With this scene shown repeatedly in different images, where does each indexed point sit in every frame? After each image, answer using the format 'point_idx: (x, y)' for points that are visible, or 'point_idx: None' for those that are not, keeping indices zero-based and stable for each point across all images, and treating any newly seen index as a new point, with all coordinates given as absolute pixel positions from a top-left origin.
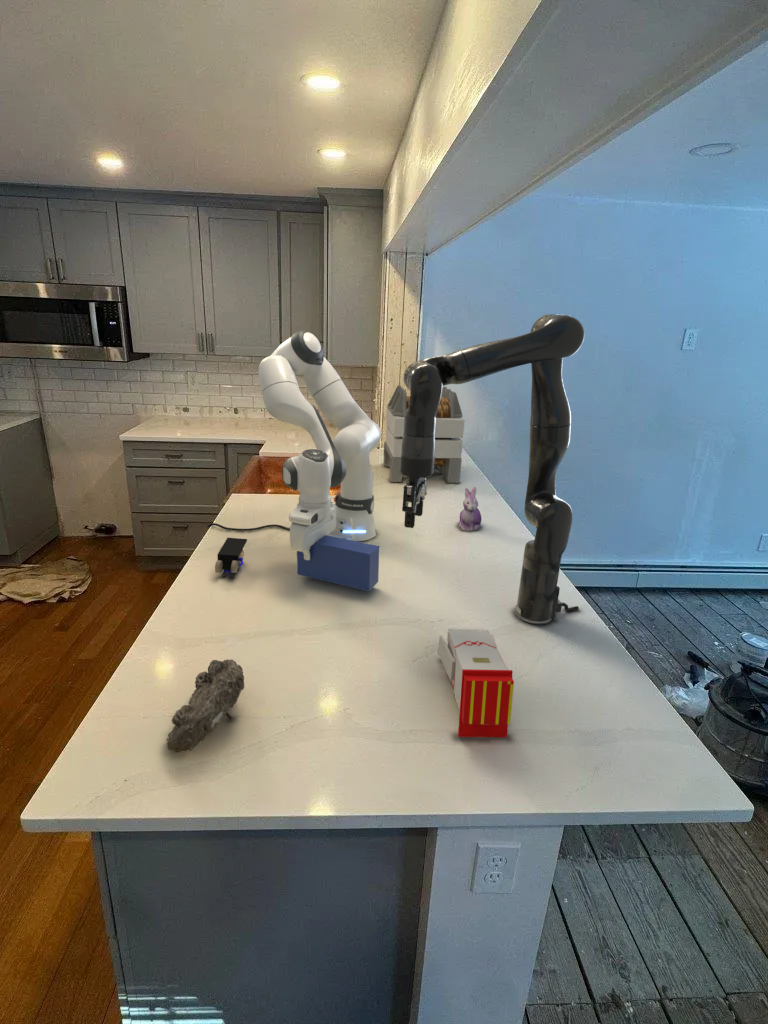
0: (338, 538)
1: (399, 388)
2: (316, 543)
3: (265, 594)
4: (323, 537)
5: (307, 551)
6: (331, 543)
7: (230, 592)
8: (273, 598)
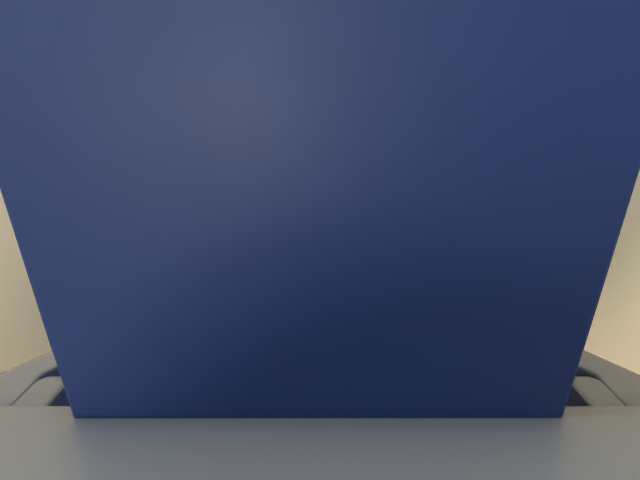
0: (3, 20)
1: None
2: (569, 376)
3: (594, 350)
4: (213, 399)
5: (615, 372)
6: (485, 30)
7: None
8: (628, 298)
